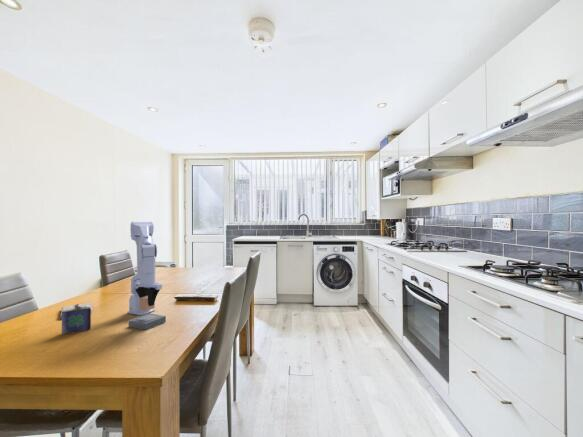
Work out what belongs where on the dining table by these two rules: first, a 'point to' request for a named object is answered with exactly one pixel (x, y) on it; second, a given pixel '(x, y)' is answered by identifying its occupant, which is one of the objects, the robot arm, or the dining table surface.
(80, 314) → the flask
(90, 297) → the dining table surface
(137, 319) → the slate plinth
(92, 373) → the dining table surface
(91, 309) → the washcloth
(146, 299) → the terracotta block
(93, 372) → the dining table surface
